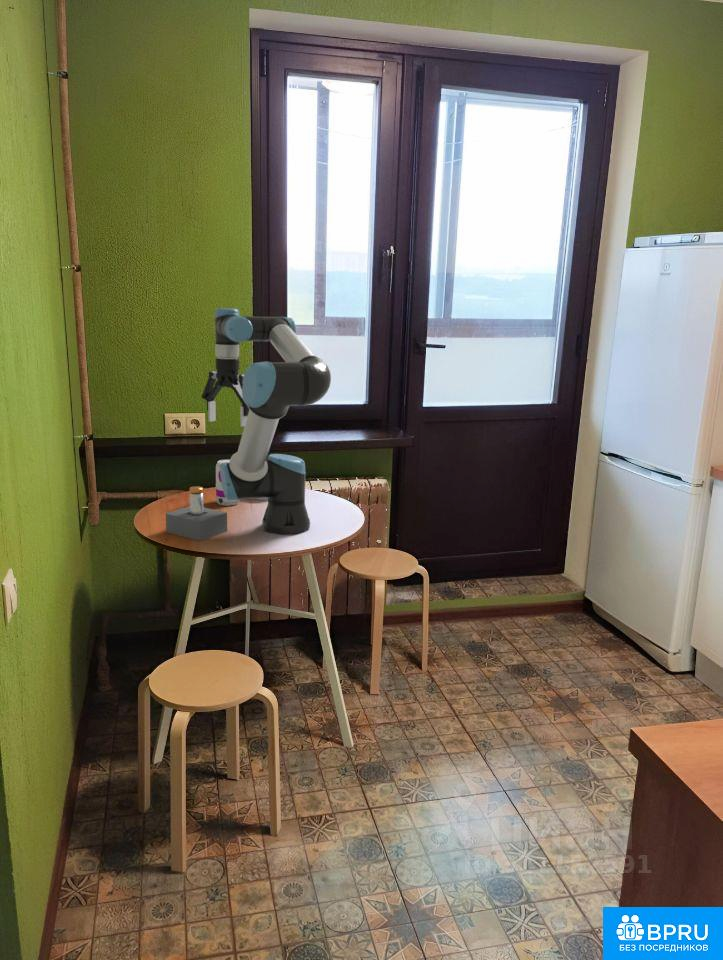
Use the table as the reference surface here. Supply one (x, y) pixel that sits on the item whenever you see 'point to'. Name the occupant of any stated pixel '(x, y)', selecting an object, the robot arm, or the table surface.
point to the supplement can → (219, 490)
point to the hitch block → (196, 523)
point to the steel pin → (196, 501)
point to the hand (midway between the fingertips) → (227, 423)
